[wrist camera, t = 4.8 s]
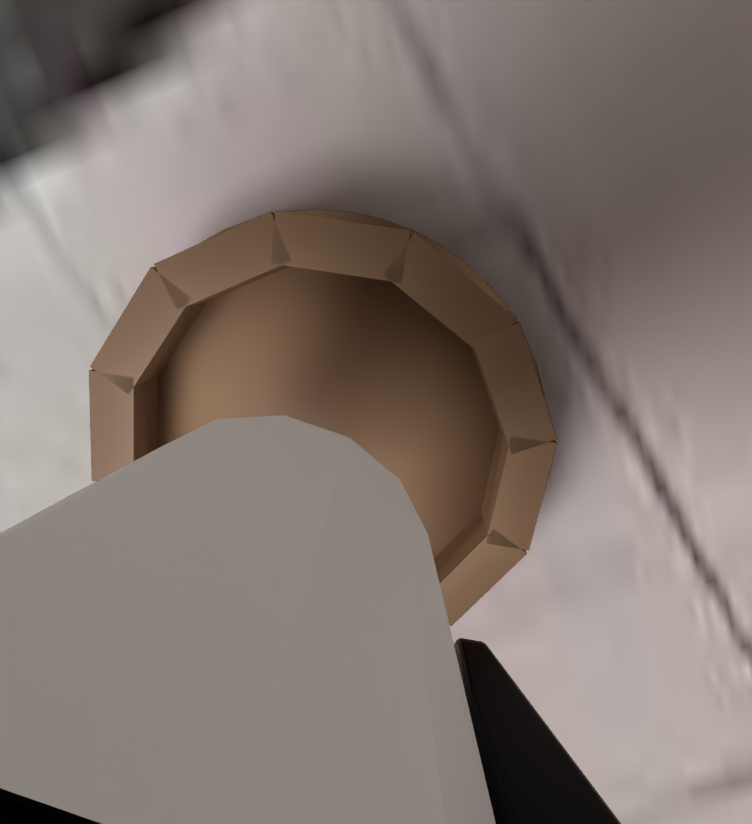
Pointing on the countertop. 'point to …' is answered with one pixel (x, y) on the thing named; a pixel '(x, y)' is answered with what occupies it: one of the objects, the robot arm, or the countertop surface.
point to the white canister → (233, 644)
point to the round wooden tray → (343, 372)
